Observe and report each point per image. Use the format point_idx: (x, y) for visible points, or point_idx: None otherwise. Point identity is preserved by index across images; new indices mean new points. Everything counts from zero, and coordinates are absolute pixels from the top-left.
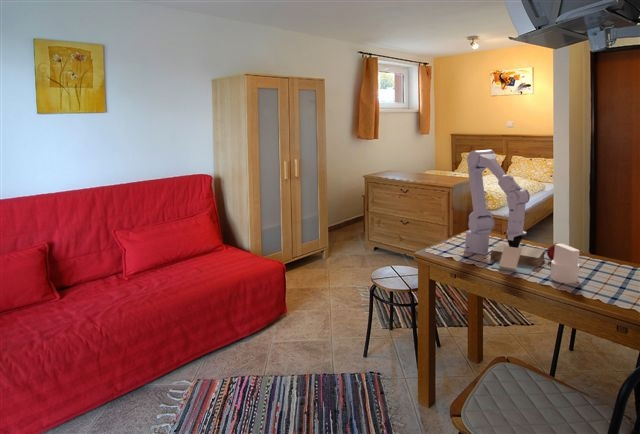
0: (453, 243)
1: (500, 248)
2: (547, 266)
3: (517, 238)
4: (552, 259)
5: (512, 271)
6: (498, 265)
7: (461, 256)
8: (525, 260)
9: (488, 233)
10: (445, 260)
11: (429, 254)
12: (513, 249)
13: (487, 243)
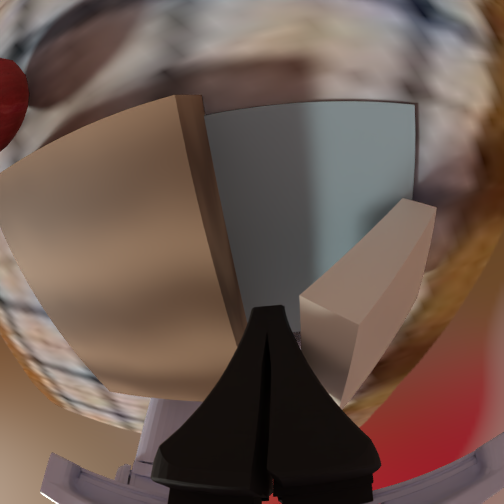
0: None
1: (182, 384)
2: (123, 63)
3: (351, 477)
4: (28, 95)
5: None
6: None
7: None
8: (213, 204)
9: (148, 458)
10: (362, 412)
11: None
12: (365, 354)
13: (177, 422)
